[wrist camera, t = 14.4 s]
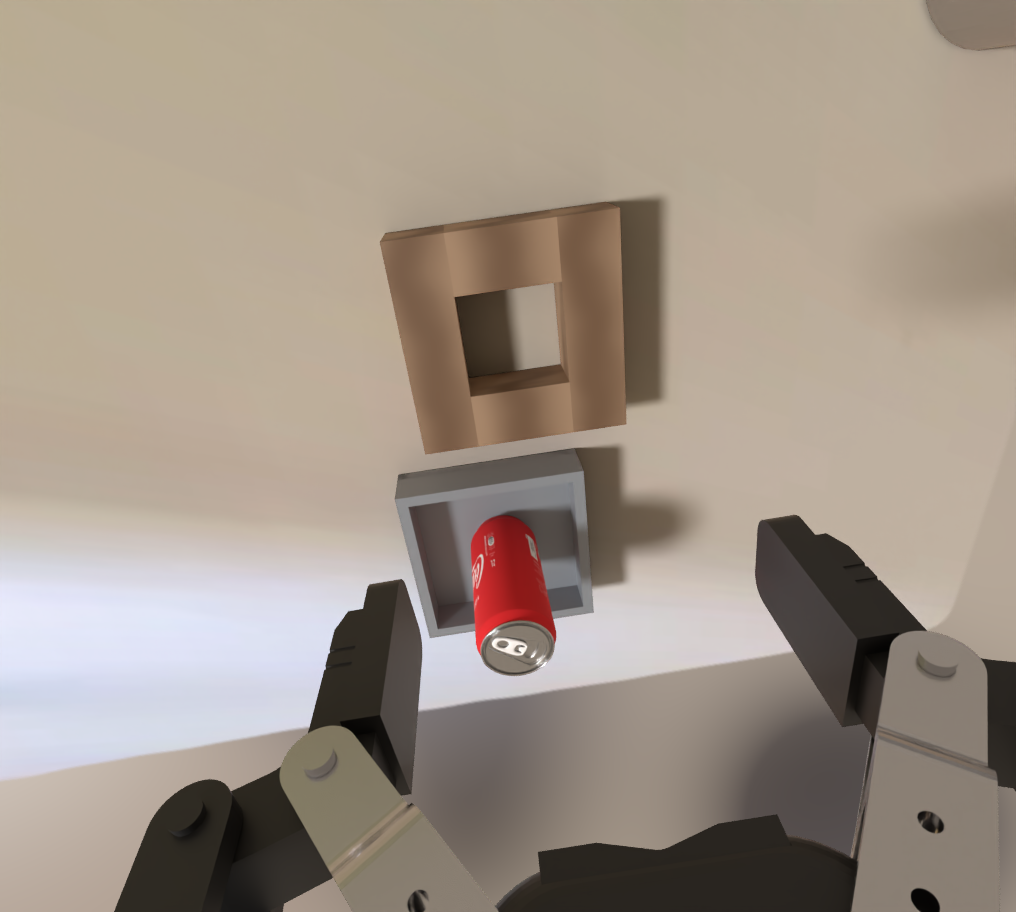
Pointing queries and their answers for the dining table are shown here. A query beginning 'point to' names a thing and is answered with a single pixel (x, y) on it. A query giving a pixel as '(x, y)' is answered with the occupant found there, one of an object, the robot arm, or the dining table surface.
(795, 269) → the dining table surface
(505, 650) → the beverage can
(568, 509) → the tray
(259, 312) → the dining table surface
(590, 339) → the socket holder
